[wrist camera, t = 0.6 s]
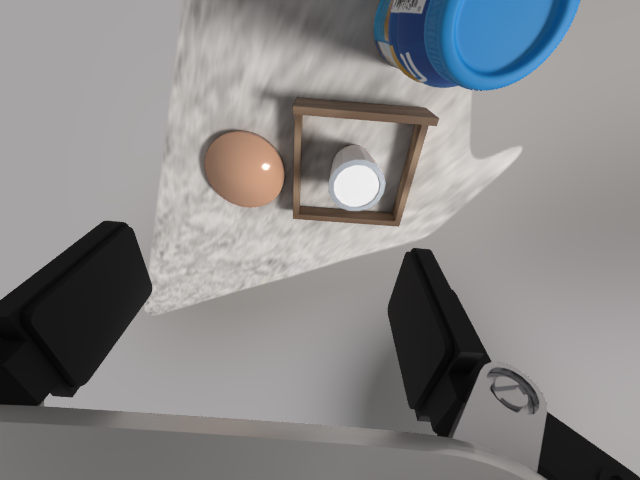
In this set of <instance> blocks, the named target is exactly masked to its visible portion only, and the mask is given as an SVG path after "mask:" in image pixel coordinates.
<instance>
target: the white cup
mask: <svg viewBox="0 0 640 480" xmlns="http://www.w3.org/2000/svg"><path fill="white" fill-rule="evenodd" d="M385 184H386V183H385V178H384V174H383V172H382V171H381V169H380V168H379V166H378V165H377V163H376V162H375V160H374V159H373V157H372V156H371V154H370V153H369V152H368V151H367V149H365V148H363V147H361V146H359V145H350V146H347V147H344V148H342V149H341V150H340V151H339V152H338V153H337V154H336V156H335V158H334V160H333V164H332V169H331V174H330V179H329V193H330V196H331V198H332V200H333V201H334V202H335V203H336V204H337V205H338V206H339V207H341V208H343V209H345V210H348V211H361V210H365V209H368V208H370V207H371V206H373V205H374V204H376V203H377V202H378V201H379V199H380V198H381V196H382V195H383V193H384V189H385Z"/></svg>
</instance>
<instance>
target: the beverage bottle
mask: <svg viewBox="0 0 640 480" xmlns="http://www.w3.org/2000/svg"><path fill="white" fill-rule="evenodd" d="M579 3H580V0H381V1H380V3H379V5H378V8H377V11H376V15H375V20H374V38H375V43H376V46H377V49H378V51H379V53H380V55H381V56H382V57H383V59H384V60H385V61H386V62H387V63H389V64H390V65H392V66H394V67H396V68H398V69H400V70H401V71H402V72H403V73H404V74H405V75H407V76H408V77H409V78H411V79H413V80H415V81H417V82H421V83H424V84H426V85H429V86H433V87H440V88H446V87H454V86H461V87H464V88H466V89H470V90H473V89H474V90H477V91H478V90H480V91H482V90H493V89H498V88H502V87H505V86H508V85H510V84H512V83H515V82H517V81H519V80H520V79H522V78H524V77H525V76H527V75H528V74H530V73H531V72H532V71H534V70H535V69H536V68H537V67H538V66H540V65H541V64H542V63H543V62H544V61H545V60H546V59H547V58H548V57H549V56H550V55H551V53H552V52H553V51H554V50H555V48H556V47H557V46H558V45H559V43H560V42H561V40H562V39H563V37H564V36H565V34H566V32H567V31H568V29H569V27H570V25H571V23H572V21H573V19H574V17H575V14H576V12H577V9H578V6H579Z"/></svg>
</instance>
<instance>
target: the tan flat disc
mask: <svg viewBox="0 0 640 480" xmlns="http://www.w3.org/2000/svg"><path fill="white" fill-rule="evenodd" d="M204 166H205V172H206V176H207V178H208V181H209V182H210V184H211V186H212V187H213V189H214V190H215V191H216V192H217V193H218V194H219V195H220V196H221V197H223V198H224V199H225V200H227V201H229V202H231V203H233V204H235V205H238V206H242V207H259V206H263V205H266V204H268V203H269V202H271V201H272V200H274V199H275V198H276V197H277V195H278V194H279V192H280V191H281V189H282V186H283V183H284V178H285V169H284V164H283V161H282V158H281V156H280V154H279V153H278V151H277V150H276V149H275V147H274V146H273V145H272V144H271V143H270V142H269V141H267V140H266V139H265V138H263V137H261V136H259V135H257V134H255V133H252V132H248V131H231V132H228V133H225V134H223V135H221V136H220V137H218V138H217V139H216V140H215V141H214V142H213V143H212V144H211V145H210V147H209V148H208V150H207V153H206V156H205V164H204Z"/></svg>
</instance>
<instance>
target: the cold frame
mask: <svg viewBox="0 0 640 480" xmlns="http://www.w3.org/2000/svg"><path fill="white" fill-rule="evenodd" d="M293 114H295V130H294V187H293V219H303V220H317V221H331V222H345V223H359V224H373V225H386V226H399V225H400V221H401V218H402V214H403V211H404V208H405V204H406V201H407V197H408V194H409V191H410V187H411V184H412V180H413V177H414V174H415V170H416V167H417V163H418V160H419V156H420V153H421V150H422V146H423V143H424V139H425V136H426V133H427V129H428V126H429V125H430V126H437V124H438V120H439V118H438V117H437V116H435V115H434V114H433V113H432V112H430V111H429V110H428V109H427V108H418V107H406V106H394V105H382V104H370V103H358V102H347V101H335V100H323V99H311V98H299V97H297V98H296V100H295V103H294V105H293ZM303 115H309V116H321V117H334V118H346V119H358V120H370V121H382V122H394V123H406V124H415V128H414V131H413V135H412V139H411V143H410V146H409V150H408V154H407V158H406V161H405V165H404V169H403V173H402V177H401V180H400V184H399V188H398V192H397V195H396V199H395V203H394V207H393V211H392V213H387V212H374V211H348V210H345V209H333V208H319V207H306V206H300V184H301V155H302V125H303Z"/></svg>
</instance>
